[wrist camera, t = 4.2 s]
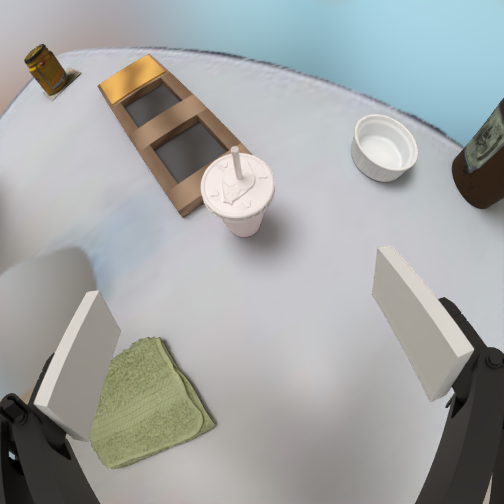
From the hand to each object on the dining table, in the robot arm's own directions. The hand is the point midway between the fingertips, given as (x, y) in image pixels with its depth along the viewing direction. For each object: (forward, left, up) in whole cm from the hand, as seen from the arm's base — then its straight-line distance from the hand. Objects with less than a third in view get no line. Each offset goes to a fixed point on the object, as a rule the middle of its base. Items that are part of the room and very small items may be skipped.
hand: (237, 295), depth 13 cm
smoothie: (+5, +9, -19) cm, 21 cm away
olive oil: (+38, -6, -19) cm, 43 cm away
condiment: (-7, +61, -19) cm, 64 cm away
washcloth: (-19, -1, -19) cm, 27 cm away
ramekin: (+25, +6, -19) cm, 32 cm away
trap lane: (+5, +30, -19) cm, 35 cm away
